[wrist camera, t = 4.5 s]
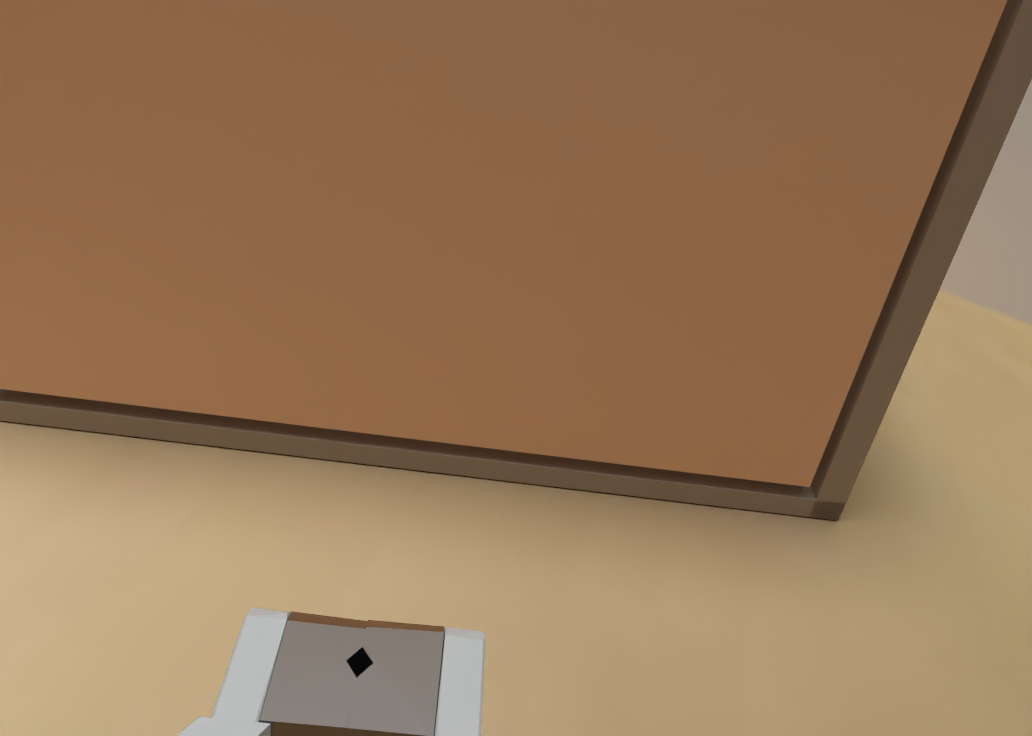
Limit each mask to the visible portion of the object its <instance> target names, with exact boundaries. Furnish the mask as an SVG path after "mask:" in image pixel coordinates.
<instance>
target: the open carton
mask: <svg viewBox="0 0 1032 736" xmlns="http://www.w3.org/2000/svg"><path fill="white" fill-rule="evenodd" d="M1031 79H1032V0H1007V2H1006V5H1005V7H1004V10H1003V12H1002V15H1001V17H1000V20H999V22H998V24H997V27H996V29H995V32H994V34H993V37H992V39H991V42H990V44H989V47H988V49H987V52H986V54H985V57H984V59H983V61H982V64H981V66H980V69H979V71H978V74H977V76H976V79H975V81H974V84H973V86H972V89H971V91H970V93H969V96H968V98H967V101H966V103H965V106H964V108H963V111H962V113H961V116H960V118H959V121H958V123H957V126H956V128H955V130H954V133H953V135H952V138H951V140H950V143H949V145H948V148H947V150H946V153H945V155H944V158H943V160H942V162H941V165H940V167H939V170H938V172H937V175H936V177H935V180H934V182H933V185H932V187H931V190H930V192H929V194H928V197H927V199H926V202H925V204H924V207H923V209H922V212H921V214H920V217H919V219H918V222H917V224H916V227H915V229H914V231H913V234H912V236H911V239H910V241H909V244H908V246H907V249H906V251H905V254H904V256H903V259H902V261H901V263H900V266H899V268H898V271H897V273H896V276H895V278H894V281H893V283H892V286H891V288H890V291H889V293H888V295H887V298H886V300H885V303H884V305H883V308H882V310H881V313H880V315H879V318H878V320H877V323H876V325H875V328H874V330H873V332H872V335H871V337H870V340H869V342H868V345H867V347H866V350H865V352H864V355H863V357H862V360H861V362H860V364H859V367H858V369H857V372H856V374H855V377H854V379H853V382H852V384H851V387H850V389H849V392H848V394H847V396H846V399H845V401H844V404H843V406H842V409H841V411H840V414H839V416H838V419H837V421H836V424H835V426H834V429H833V431H832V433H831V436H830V438H829V441H828V443H827V446H826V448H825V451H824V453H823V456H822V458H821V461H820V463H819V465H818V468H817V470H816V473H815V475H814V478H813V480H812V483H811V485H810V487H805V486H796V485H788V484H780V483H772V482H763V481H755V480H747V479H739V478H730V477H722V476H714V475H706V474H697V473H689V472H681V471H673V470H664V469H656V468H648V467H640V466H631V465H623V464H615V463H607V462H598V461H590V460H582V459H574V458H565V457H557V456H549V455H541V454H532V453H524V452H516V451H508V450H500V449H491V448H483V447H475V446H467V445H458V444H450V443H442V442H434V441H425V440H417V439H409V438H401V437H392V436H384V435H376V434H368V433H359V432H351V431H343V430H335V429H326V428H318V427H310V426H302V425H293V424H285V423H277V422H269V421H260V420H252V419H244V418H236V417H227V416H219V415H211V414H203V413H194V412H186V411H178V410H170V409H161V408H153V407H145V406H137V405H128V404H120V403H112V402H104V401H95V400H87V399H79V398H71V397H63V396H54V395H46V394H38V393H30V392H21V391H13V390H5V389H0V421H8V422H16V423H25V424H33V425H41V426H50V427H58V428H67V429H75V430H83V431H92V432H100V433H109V434H117V435H125V436H134V437H142V438H150V439H159V440H167V441H176V442H184V443H192V444H201V445H209V446H218V447H226V448H234V449H243V450H251V451H260V452H268V453H276V454H285V455H293V456H301V457H310V458H318V459H327V460H335V461H343V462H352V463H360V464H369V465H377V466H385V467H394V468H402V469H411V470H419V471H427V472H436V473H444V474H452V475H461V476H469V477H478V478H486V479H494V480H503V481H511V482H520V483H528V484H536V485H545V486H553V487H562V488H570V489H578V490H587V491H595V492H603V493H612V494H620V495H629V496H637V497H645V498H654V499H662V500H671V501H679V502H687V503H696V504H704V505H712V506H721V507H729V508H738V509H746V510H754V511H763V512H771V513H780V514H788V515H796V516H805V517H813V518H822V519H830V520H838V519H839V517H840V515H841V513H842V510H843V508H844V506H845V503H846V501H847V499H848V497H849V494H850V492H851V490H852V487H853V485H854V483H855V481H856V478H857V476H858V474H859V471H860V469H861V467H862V465H863V462H864V460H865V458H866V456H867V453H868V451H869V449H870V446H871V444H872V442H873V440H874V437H875V435H876V433H877V430H878V428H879V426H880V424H881V421H882V419H883V417H884V414H885V412H886V410H887V408H888V405H889V403H890V401H891V399H892V396H893V394H894V392H895V389H896V387H897V385H898V383H899V380H900V378H901V376H902V373H903V371H904V369H905V367H906V364H907V362H908V360H909V357H910V355H911V353H912V351H913V348H914V346H915V344H916V342H917V339H918V337H919V335H920V332H921V330H922V328H923V326H924V323H925V321H926V319H927V316H928V314H929V312H930V310H931V307H932V305H933V303H934V300H935V298H936V296H937V294H938V291H939V289H940V287H941V284H942V282H943V280H944V278H945V275H946V273H947V271H948V268H949V266H950V263H951V262H952V259H953V257H954V255H955V252H956V250H957V248H958V246H959V243H960V241H961V239H962V237H963V234H964V232H965V230H966V227H967V225H968V223H969V221H970V218H971V216H972V214H973V211H974V209H975V207H976V205H977V202H978V200H979V198H980V196H981V193H982V191H983V189H984V186H985V184H986V182H987V179H988V177H989V175H990V173H991V170H992V168H993V166H994V164H995V161H996V159H997V157H998V155H999V152H1000V150H1001V148H1002V145H1003V143H1004V141H1005V139H1006V136H1007V134H1008V132H1009V129H1010V127H1011V125H1012V123H1013V120H1014V118H1015V116H1016V113H1017V111H1018V109H1019V107H1020V104H1021V102H1022V100H1023V97H1024V95H1025V93H1026V91H1027V88H1028V86H1029V84H1030V81H1031Z"/></svg>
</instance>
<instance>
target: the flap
mask: <svg viewBox="0 0 1032 736" xmlns="http://www.w3.org/2000/svg"><path fill="white" fill-rule="evenodd" d="M1006 2H1007V0H0V389H5V390H13V391H21V392H30V393H38V394H46V395H54V396H63V397H71V398H79V399H87V400H95V401H104V402H112V403H120V404H128V405H137V406H145V407H153V408H161V409H170V410H178V411H186V412H194V413H203V414H211V415H219V416H227V417H236V418H244V419H252V420H260V421H269V422H277V423H285V424H293V425H302V426H310V427H318V428H326V429H335V430H343V431H351V432H359V433H368V434H376V435H384V436H392V437H401V438H409V439H417V440H425V441H434V442H442V443H450V444H458V445H467V446H475V447H483V448H491V449H500V450H508V451H516V452H524V453H532V454H541V455H549V456H557V457H565V458H574V459H582V460H590V461H598V462H607V463H615V464H623V465H631V466H640V467H648V468H656V469H664V470H673V471H681V472H689V473H697V474H706V475H714V476H722V477H730V478H739V479H747V480H755V481H763V482H772V483H780V484H788V485H796V486H805V487H810V485H811V483H812V480H813V478H814V475H815V473H816V470H817V468H818V465H819V463H820V461H821V458H822V456H823V453H824V451H825V448H826V446H827V443H828V441H829V438H830V436H831V433H832V431H833V429H834V426H835V424H836V421H837V419H838V416H839V414H840V411H841V409H842V406H843V404H844V401H845V399H846V396H847V394H848V392H849V389H850V387H851V384H852V382H853V379H854V377H855V374H856V372H857V369H858V367H859V364H860V362H861V360H862V357H863V355H864V352H865V350H866V347H867V345H868V342H869V340H870V337H871V335H872V332H873V330H874V328H875V325H876V323H877V320H878V318H879V315H880V313H881V310H882V308H883V305H884V303H885V300H886V298H887V295H888V293H889V291H890V288H891V286H892V283H893V281H894V278H895V276H896V273H897V271H898V268H899V266H900V263H901V261H902V259H903V256H904V254H905V251H906V249H907V246H908V244H909V241H910V239H911V236H912V234H913V231H914V229H915V227H916V224H917V222H918V219H919V217H920V214H921V212H922V209H923V207H924V204H925V202H926V199H927V197H928V194H929V192H930V190H931V187H932V185H933V182H934V180H935V177H936V175H937V172H938V170H939V167H940V165H941V162H942V160H943V158H944V155H945V153H946V150H947V148H948V145H949V143H950V140H951V138H952V135H953V133H954V130H955V128H956V126H957V123H958V121H959V118H960V116H961V113H962V111H963V108H964V106H965V103H966V101H967V98H968V96H969V93H970V91H971V89H972V86H973V84H974V81H975V79H976V76H977V74H978V71H979V69H980V66H981V64H982V61H983V59H984V57H985V54H986V52H987V49H988V47H989V44H990V42H991V39H992V37H993V34H994V32H995V29H996V27H997V24H998V22H999V20H1000V17H1001V15H1002V12H1003V10H1004V7H1005V5H1006Z"/></svg>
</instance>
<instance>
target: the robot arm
mask: <svg viewBox="0 0 1032 736" xmlns="http://www.w3.org/2000/svg"><path fill="white" fill-rule="evenodd" d="M484 656H485V635H484V632H483V631H476V630H466V629H456V628H445V630H444V627H442V626H430V625H419V624H407V623H396V622H385V621H373V620H368V621H362V620H354V619H346V618H338V617H330V616H322V615H314V614H306V613H299V612H288V611H279V610H271V609H262V608H253V607H251V608H250V610H249V611H248V613H247V615H246V616H245V618H244V620H243V623H242V626H241V629H240V632H239V635H238V638H237V641H236V644H235V647H234V650H233V653H232V656H231V659H230V662H229V665H228V668H227V671H226V674H225V677H224V680H223V683H222V686H221V689H220V692H219V695H218V698H217V701H216V704H215V707H214V710H213V713H212V716H211V717H198V718H197V719H195V720H194V721H193V722H192V723H191V724H190V725H188V726H187V727H186V728H185V729H184V730H182V731H181V732H180V733H179V734H178V735H177V736H481V718H482V697H483V676H484Z"/></svg>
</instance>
